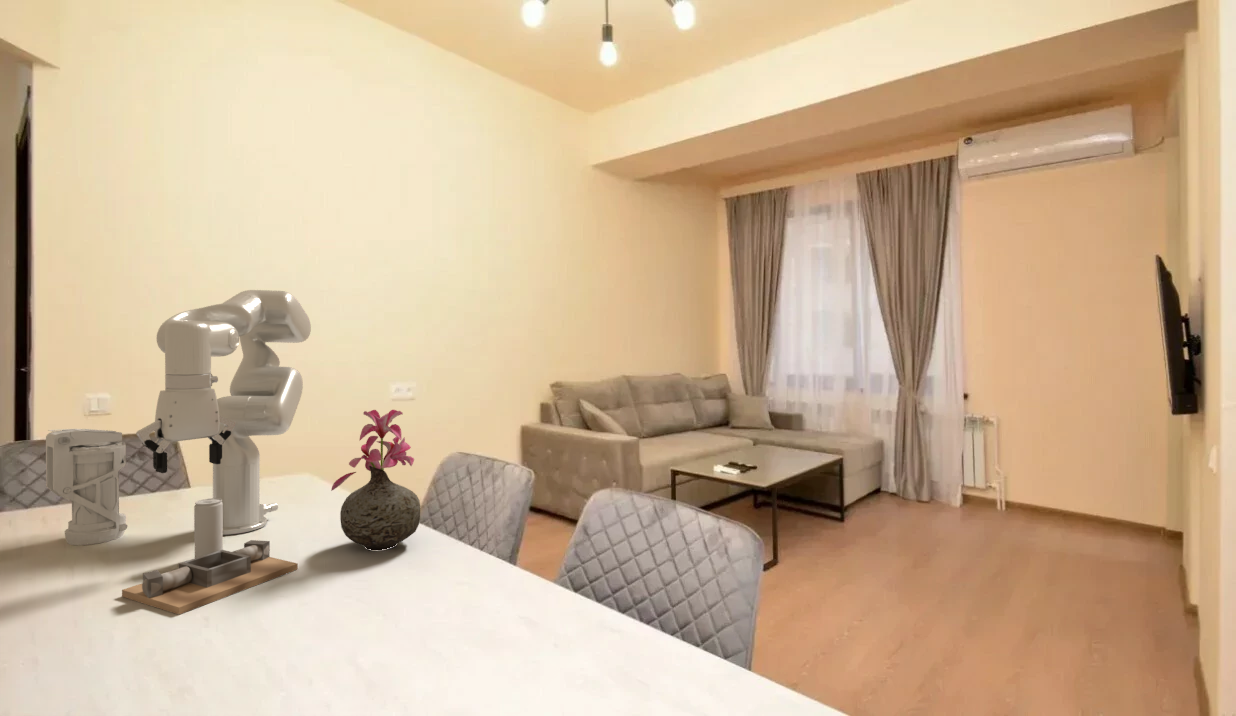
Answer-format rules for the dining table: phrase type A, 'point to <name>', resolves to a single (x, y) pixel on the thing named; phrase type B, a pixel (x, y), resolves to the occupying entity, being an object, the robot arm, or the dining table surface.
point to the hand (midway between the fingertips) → (189, 467)
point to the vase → (380, 492)
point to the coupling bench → (209, 578)
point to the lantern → (88, 481)
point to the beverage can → (208, 526)
